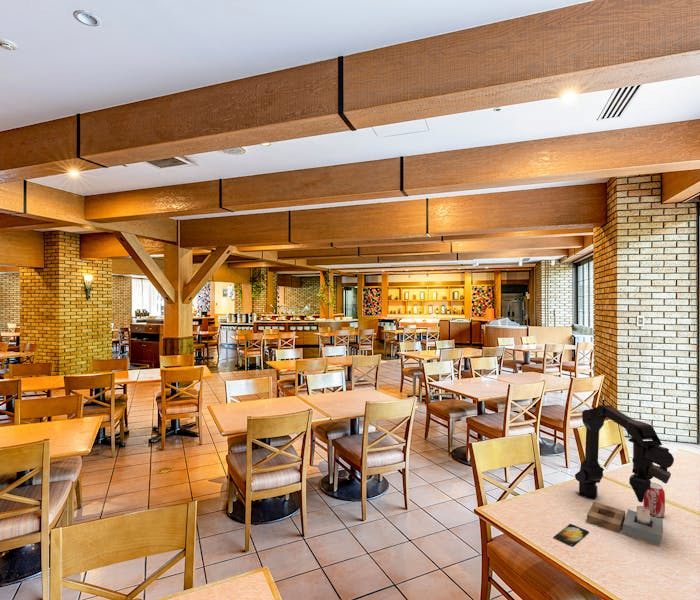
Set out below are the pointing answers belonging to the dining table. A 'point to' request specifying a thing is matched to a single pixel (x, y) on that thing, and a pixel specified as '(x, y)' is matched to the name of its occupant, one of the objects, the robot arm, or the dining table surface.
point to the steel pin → (643, 515)
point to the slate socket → (643, 528)
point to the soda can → (655, 500)
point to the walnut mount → (606, 517)
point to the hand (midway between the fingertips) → (641, 497)
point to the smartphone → (571, 535)
